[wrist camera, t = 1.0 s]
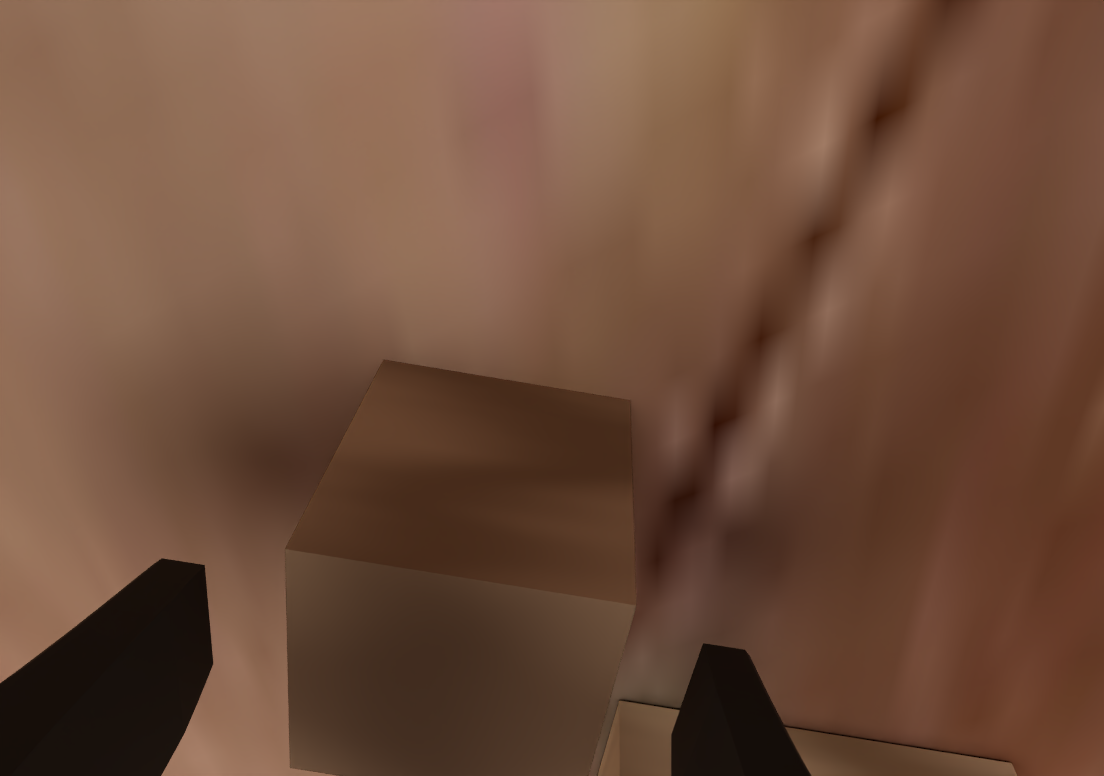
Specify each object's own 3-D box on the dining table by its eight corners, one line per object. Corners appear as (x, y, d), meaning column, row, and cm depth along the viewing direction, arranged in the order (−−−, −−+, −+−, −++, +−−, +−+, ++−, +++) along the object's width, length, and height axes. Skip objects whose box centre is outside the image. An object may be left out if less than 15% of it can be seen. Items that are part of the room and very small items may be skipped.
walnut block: (630, 398, 14) (636, 605, 10) (587, 580, 17) (578, 812, 12) (384, 358, 14) (285, 549, 10) (374, 545, 17) (290, 767, 12)
